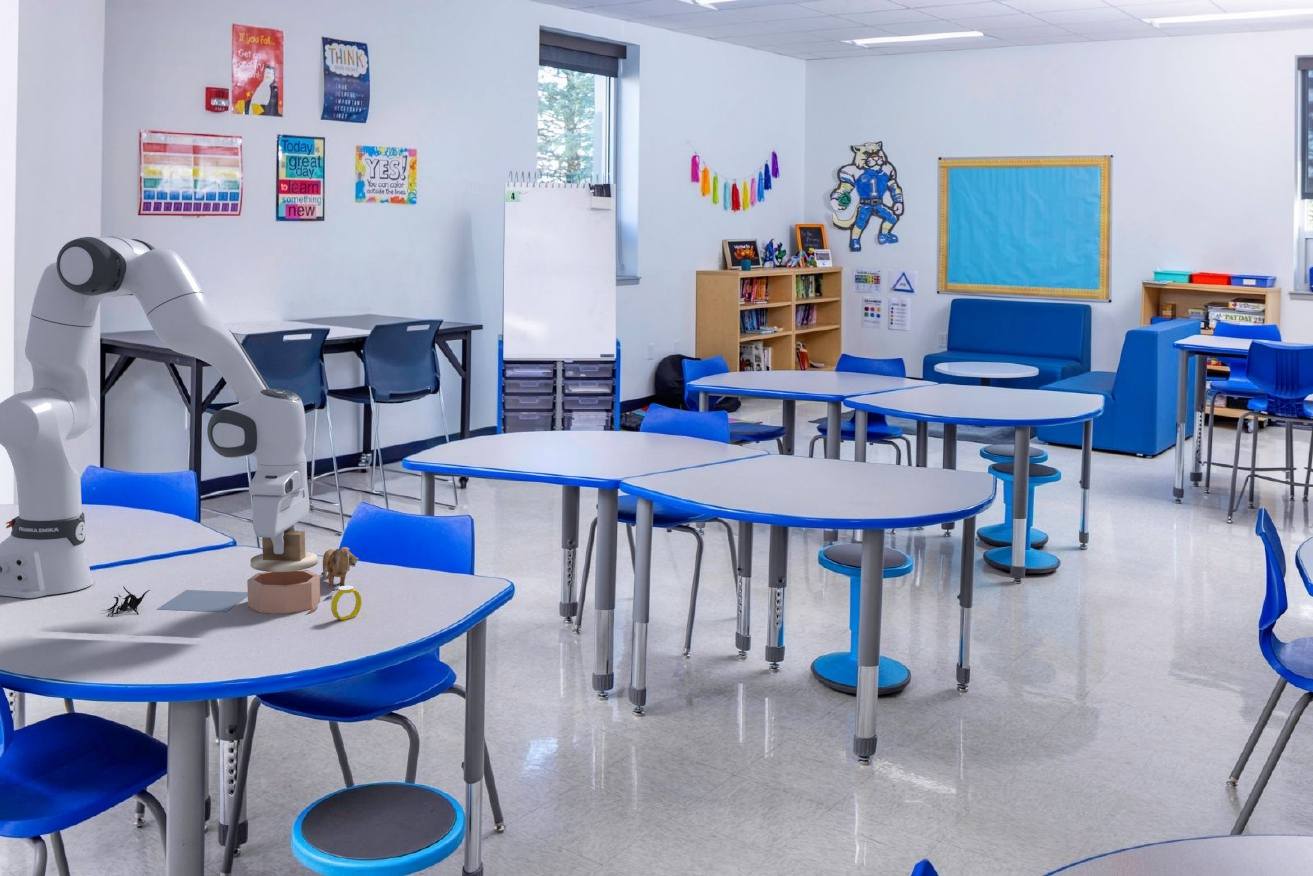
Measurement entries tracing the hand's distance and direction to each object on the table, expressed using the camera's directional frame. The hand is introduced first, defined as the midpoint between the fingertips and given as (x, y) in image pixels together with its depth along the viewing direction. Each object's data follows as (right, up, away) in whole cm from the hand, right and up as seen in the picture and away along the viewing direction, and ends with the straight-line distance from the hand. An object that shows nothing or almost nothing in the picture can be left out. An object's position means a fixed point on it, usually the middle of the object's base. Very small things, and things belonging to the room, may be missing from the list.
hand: (283, 550), depth 231 cm
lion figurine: (+5, -9, +18) cm, 21 cm away
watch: (+12, -12, -3) cm, 18 cm away
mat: (-15, -11, +2) cm, 19 cm away
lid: (0, -3, 0) cm, 2 cm away
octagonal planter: (0, -11, +2) cm, 11 cm away
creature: (-27, -12, -6) cm, 30 cm away
